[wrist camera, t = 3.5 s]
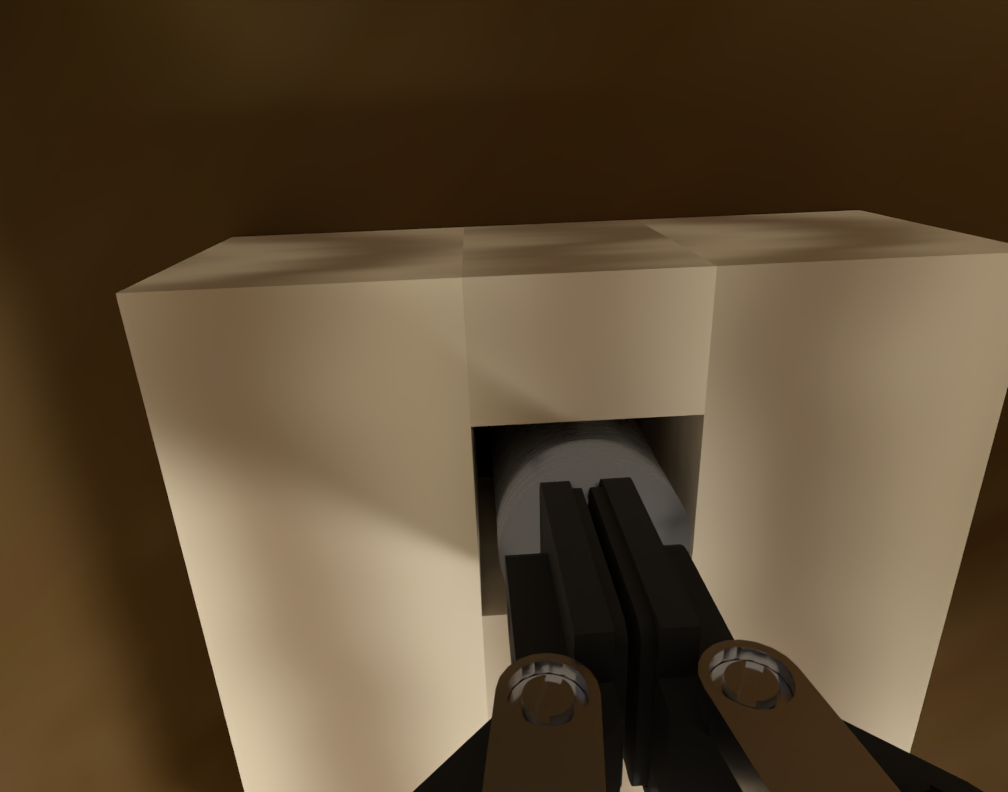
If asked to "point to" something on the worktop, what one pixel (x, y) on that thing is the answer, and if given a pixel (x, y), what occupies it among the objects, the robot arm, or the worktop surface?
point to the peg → (575, 476)
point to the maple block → (546, 399)
